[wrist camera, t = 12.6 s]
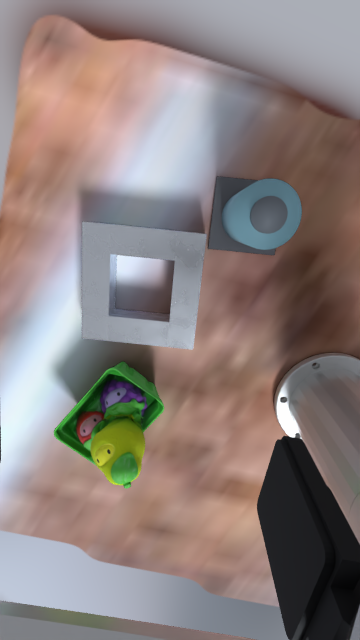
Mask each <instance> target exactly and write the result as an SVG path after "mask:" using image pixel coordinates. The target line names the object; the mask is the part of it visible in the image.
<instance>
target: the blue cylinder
mask: <svg viewBox="0 0 360 640" xmlns="http://www.w3.org/2000/svg"><path fill="white" fill-rule="evenodd" d="M301 215H302V207H301V202H300V199H299V196H298V194H297V193H296V191H295V190H294V189H293V188H292V187H291V186H290V185H289V184H287V183H286V182H284V181H281V180H278V179H263V180H259V181H257V182H255V183H253V184H251V185H250V186H248V187H246V188H245V189H243V190H242V191H240V192H239V193H237V194H235V195H234V196H233V197H231V198H230V199H229V200H228V202H227V203H226V205H225V206H224V209H223V212H222V225H223V228H224V230H225V232H226V234H227V235H228V236H229V237H230V238H232V239H233V240H235V241H237V242H240V243H243V244H245V245H248V246H251V247H253V248H256V249H261V250H268V249H273V248H277V247H279V246H281V245H283V244H284V243H286V242H287V241H288V240H289V239H290V238H291V237H292V236H293V235H294V234H295V232H296V230H297V229H298V226H299V224H300V221H301Z"/></svg>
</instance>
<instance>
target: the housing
mask: <svg viewBox="0 0 360 640" xmlns="http://www.w3.org/2000/svg"><path fill="white" fill-rule="evenodd" d="M206 236H207V234H205V233H197V232H187V231H177V230H167V229H157V228H148V227H138V226H128V225H118V224H108V223H98V222H82V338H84V339H94V340H104V341H114V342H123V343H133V344H143V345H153V346H163V347H173V348H183V349H193V345H194V337H195V328H196V320H197V312H198V303H199V295H200V286H201V278H202V269H203V261H204V252H205V244H206ZM117 255H124V256H133V257H143V258H153V259H163V260H173V261H175V265H174V276H173V287H172V298H171V309H170V314H164V313H154V312H144V311H134V310H124V309H115V297H116V269H117Z"/></svg>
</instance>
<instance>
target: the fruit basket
mask: <svg viewBox="0 0 360 640" xmlns="http://www.w3.org/2000/svg"><path fill="white" fill-rule="evenodd" d="M163 410H164V405H163V403H162V401H161V399H160V398H159V396H158V393H157V390H156V387H155V385H154V384H153V383H151V382H148V381H147V379H146V378H145V377H144V376H142V375H141V374H140V373H138V372H137V371H136V370H135V369H133V368H130V367H129V366H128V365H127V363H125V362H121V363H119V364H118V365H116V366H115V367H112V368H109V369H107V370H106V371H105V372H104V374H103V375H102V376H101V377H100V378H99V380H98V381H97V382H96V383H95V384H94V385H93V387H92V388H91V389H90V390H89V391H88V392H87V393H86V394H85V396H84V397H83V398H82V399H81V400H80V401H79V402H78V403H77V405H76V406H75V407H74V408H73V409H72V410H71V411H70V413H69V414H68V415H67V416H66V417H65V418H64V419H63V421H62V422H61V423H60V424H59V425H58V426H57V427H56V428H55V430H54V436H55V437H56V439H58V440H59V441H61V442H62V443H64V444H65V445H67V446H68V447H70V448H71V449H73V450H74V451H76V452H77V453H79V454H80V455H82V456H83V457H85V458H86V459H87V460H89V461H90V462H92V463H93V464H95V465H96V466H97V467H98V468H99V469H100V470H101V471H102V472H103V473H104V474H105V476H106V478H107V479H108V481H109V482H111V483H112V484H115V485H124V488H129V487H131V482H132V481H133V480H135V479H136V478H137V477H138V475H139V473H140V471H141V462H142V457H143V454H144V450H145V438H144V435H143V432H144V431H145V430H146V429H147V428H148V427H149V426H150V425H151V424H152V423H153V422H154V421H155V420H156V419H157V417H158V416H159V415H160V414H161V413H162V412H163Z"/></svg>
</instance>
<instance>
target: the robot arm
mask: <svg viewBox="0 0 360 640" xmlns="http://www.w3.org/2000/svg"><path fill="white" fill-rule="evenodd" d="M313 363H314V364H313ZM274 409H275V414H276V417H277V419H278V422H279V424H280V425H281V427H282V429H283V430H284V431H285V432H286V434H287V435H288V436H283V437H282V439H281V440H279V439H278V440H277V441H276V443H275V447H274V450H273V453H272V456H271V460H270V463H269V466H268V469H267V472H266V476H265V479H264V482H263V485H262V488H261V492H260V495H259V498H258V503H257V511H258V516H259V520H260V525H261V529H262V533H263V537H264V542H265V546H266V550H267V554H268V559H269V563H270V567H271V571H272V576H273V580H274V584H275V589H276V593H277V597H278V601H279V606H280V609H281V614H282V618H283V623H284V626H285V631H286V634H287V637H288V639H289V640H360V359H358V358H356V357H354V356H351V355H347V354H343V353H323V354H319V355H315V356H312V357H309V358H307V359H305V360H303V361H301V362H300V363H298V364H297V365H295V366H294V367H293V368H292V369H290V370H289V371H288V372H287V373H286V375H285V376H284V377H283V378H282V380H281V381H280V383H279V385H278V387H277V390H276V394H275V397H274ZM289 436H290V437H289ZM0 461H1V427H0ZM0 640H255V639H249V638H244V637H238V636H231V635H225V634H219V633H212V632H205V631H199V630H193V629H186V628H180V627H174V626H167V625H160V624H154V623H148V622H141V621H134V620H128V619H121V618H115V617H108V616H101V615H94V614H88V613H81V612H74V611H67V610H61V609H54V608H47V607H41V606H34V605H27V604H20V603H13V602H6V601H0Z"/></svg>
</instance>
